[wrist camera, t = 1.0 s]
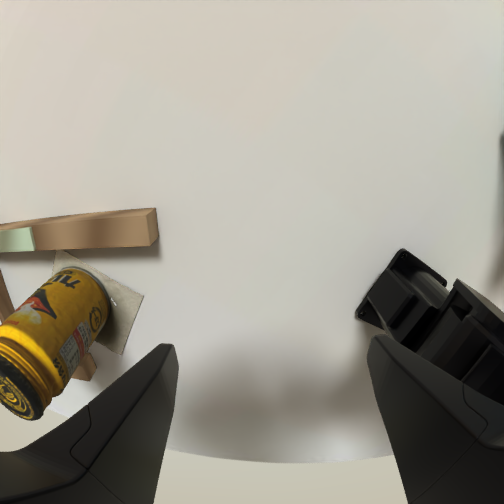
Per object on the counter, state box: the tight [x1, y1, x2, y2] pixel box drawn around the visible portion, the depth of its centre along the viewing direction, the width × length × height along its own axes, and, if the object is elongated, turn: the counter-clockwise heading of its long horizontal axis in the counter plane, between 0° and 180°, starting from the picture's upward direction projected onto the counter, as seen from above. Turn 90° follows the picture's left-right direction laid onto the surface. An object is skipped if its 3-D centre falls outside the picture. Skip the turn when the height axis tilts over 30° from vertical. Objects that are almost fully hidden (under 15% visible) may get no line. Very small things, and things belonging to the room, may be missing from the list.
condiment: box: [0, 249, 143, 421], centre depth 16 cm, size 7×8×12 cm
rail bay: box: [0, 208, 159, 381], centre depth 21 cm, size 19×16×2 cm
